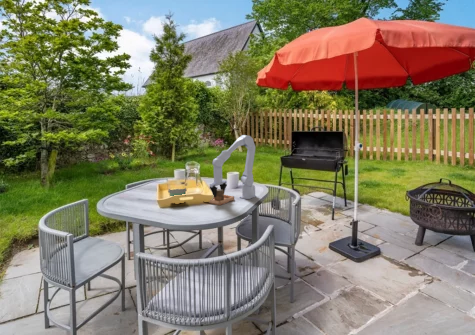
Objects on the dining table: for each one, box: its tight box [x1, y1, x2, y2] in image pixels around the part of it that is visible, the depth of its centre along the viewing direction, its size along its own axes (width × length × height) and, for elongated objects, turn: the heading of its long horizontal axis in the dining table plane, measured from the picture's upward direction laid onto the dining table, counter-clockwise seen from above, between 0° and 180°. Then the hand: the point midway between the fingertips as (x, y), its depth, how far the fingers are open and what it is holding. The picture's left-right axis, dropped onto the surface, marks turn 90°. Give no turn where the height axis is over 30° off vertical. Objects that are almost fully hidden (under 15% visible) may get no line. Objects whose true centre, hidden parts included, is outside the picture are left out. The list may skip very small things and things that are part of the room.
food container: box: [167, 187, 187, 197], centre depth 202 cm, size 12×6×10 cm, turn 101°
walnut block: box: [215, 188, 225, 201], centre depth 205 cm, size 4×5×7 cm
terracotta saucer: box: [208, 194, 235, 206], centre depth 206 cm, size 15×15×2 cm
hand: (218, 195), depth 205 cm, fingers open, 7 cm apart
